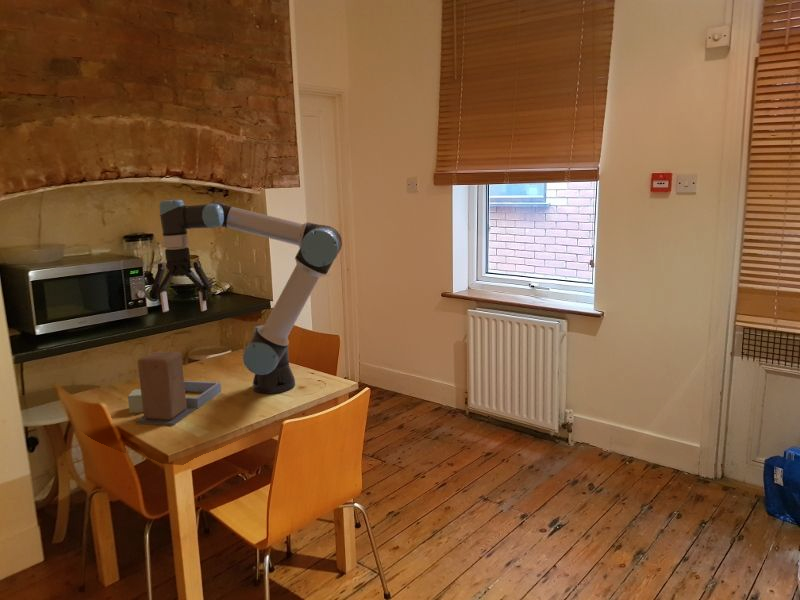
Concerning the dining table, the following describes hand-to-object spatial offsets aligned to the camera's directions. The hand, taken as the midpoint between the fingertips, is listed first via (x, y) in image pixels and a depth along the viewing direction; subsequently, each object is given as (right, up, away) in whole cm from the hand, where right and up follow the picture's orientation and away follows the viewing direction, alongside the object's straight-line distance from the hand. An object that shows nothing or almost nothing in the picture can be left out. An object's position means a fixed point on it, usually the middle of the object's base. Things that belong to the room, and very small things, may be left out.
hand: (184, 310), depth 206 cm
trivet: (-4, -34, -6) cm, 35 cm away
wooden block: (-4, -34, -6) cm, 34 cm away
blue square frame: (-2, -31, +9) cm, 32 cm away
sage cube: (-15, -33, +1) cm, 36 cm away
